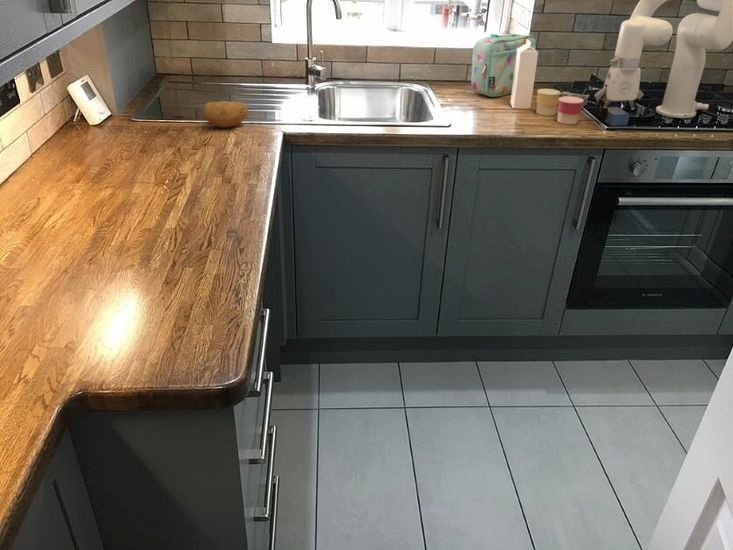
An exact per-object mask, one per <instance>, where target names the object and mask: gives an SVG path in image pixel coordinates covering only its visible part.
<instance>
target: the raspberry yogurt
mask: <svg viewBox="0 0 733 550" xmlns="http://www.w3.org/2000/svg"><path fill="white" fill-rule="evenodd" d="M582 103H583V99H581V98H578V97H571V96H565V97H560V98H559V105H557V112H558V113H557V118H556V121H557V123H560V124H562V125H576V124H578V121H579V116H580V114H581V112H582V108H581V107H582Z"/></svg>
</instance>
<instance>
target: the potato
mask: <svg viewBox="0 0 733 550" xmlns="http://www.w3.org/2000/svg"><path fill="white" fill-rule="evenodd" d="M202 114H203V116H204V118H205V119H206V121H207V122H208V124H209V123H210V124H211V125H212V126H215V127H217V128H223V129H228V128H232V127H234V126H237V125H239V124H241V123H242V122H243V121H244V120H245V119H246V118H247V117H248V114H249V108H248V107H247V105H246V104H245V102H240V101H227V100H225V101H224V100H221V101H209V102H207V103H206V104H204V105H203V107H202Z"/></svg>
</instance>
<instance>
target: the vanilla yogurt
mask: <svg viewBox="0 0 733 550" xmlns="http://www.w3.org/2000/svg"><path fill="white" fill-rule="evenodd" d="M536 93H537V94H536V100H535V102H536V109H535V113H536V114H537V115H540V116H546V117H549V116H554V115H556V110H557V106H558V105H557V104H558V101H559V95H560V93H561V91H560V90H558V89H555V88H554V89H553V88H540V89H537V90H536Z"/></svg>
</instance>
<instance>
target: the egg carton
mask: <svg viewBox="0 0 733 550" xmlns="http://www.w3.org/2000/svg"><path fill="white" fill-rule="evenodd" d="M565 96H571V97H578V98H581V99H583V103H582V107H581V109H583V108H584V106H587V105H588V100H589V98H590V94H583V93H582V94H580V93H572V92H569V91H563V92H560V95H559V98H560V97H565ZM558 105H559V101H558V104H557V105H556V106H558Z"/></svg>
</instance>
